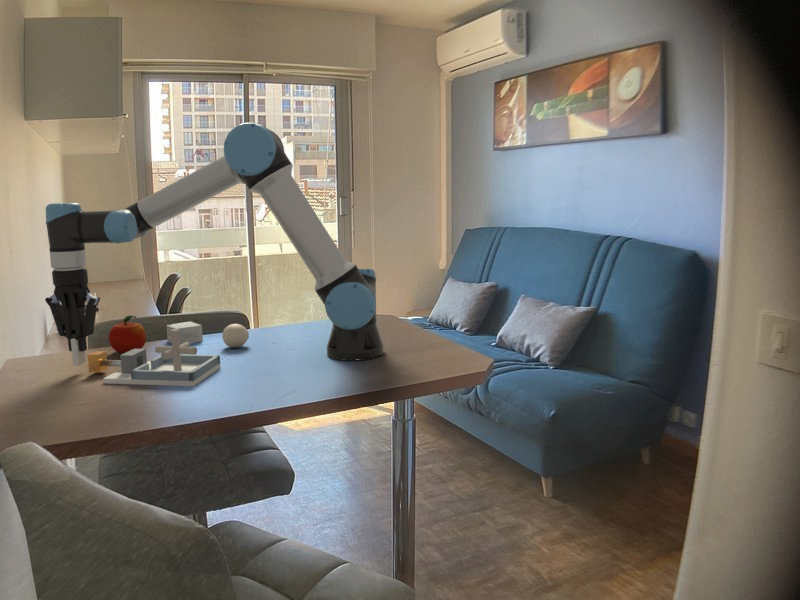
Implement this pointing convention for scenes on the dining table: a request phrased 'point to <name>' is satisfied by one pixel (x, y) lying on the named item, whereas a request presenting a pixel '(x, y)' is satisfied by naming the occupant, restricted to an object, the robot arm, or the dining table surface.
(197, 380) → the dock
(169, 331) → the small box
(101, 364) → the lock pin
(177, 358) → the pipe connector
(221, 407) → the dining table surface
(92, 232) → the robot arm
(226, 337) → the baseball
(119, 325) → the fruit
